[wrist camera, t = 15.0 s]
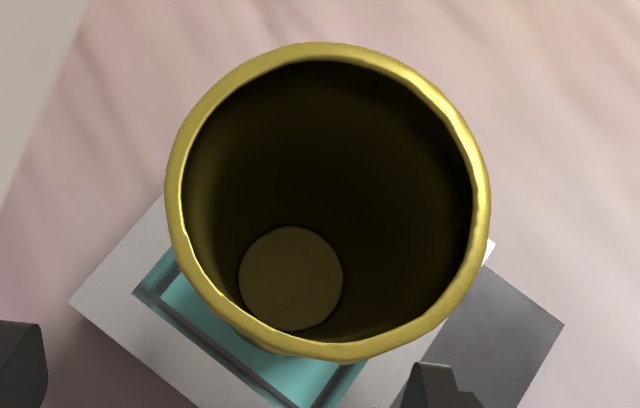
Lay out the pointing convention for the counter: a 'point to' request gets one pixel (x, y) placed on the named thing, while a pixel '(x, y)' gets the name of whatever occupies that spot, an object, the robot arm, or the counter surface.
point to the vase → (327, 202)
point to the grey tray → (348, 380)
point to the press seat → (253, 349)
